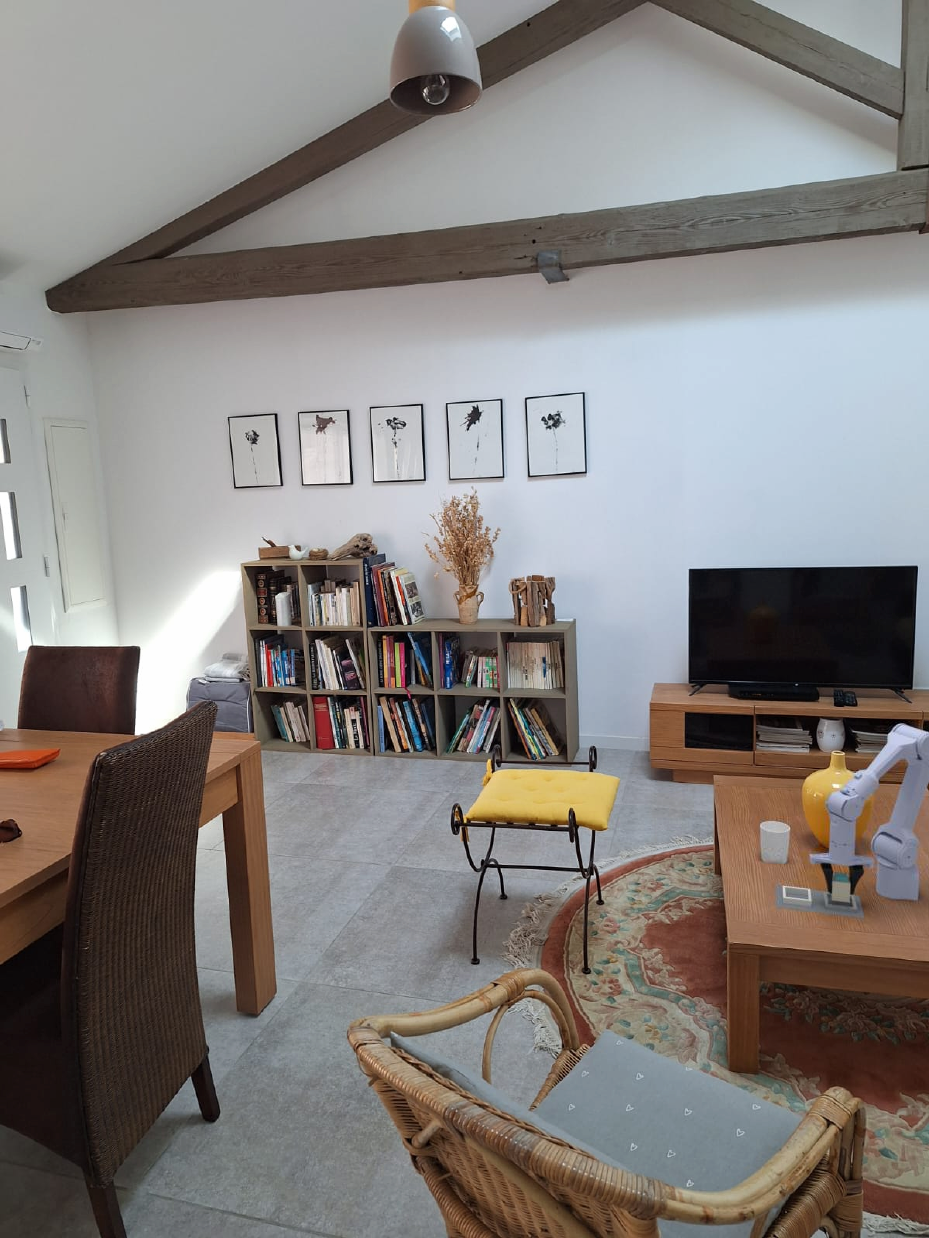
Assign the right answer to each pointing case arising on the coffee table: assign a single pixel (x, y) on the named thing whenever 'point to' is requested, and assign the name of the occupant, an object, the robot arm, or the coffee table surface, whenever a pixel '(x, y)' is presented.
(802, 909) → the panel plate
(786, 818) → the coffee table surface
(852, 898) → the frame
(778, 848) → the white cup
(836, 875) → the plug
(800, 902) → the port
